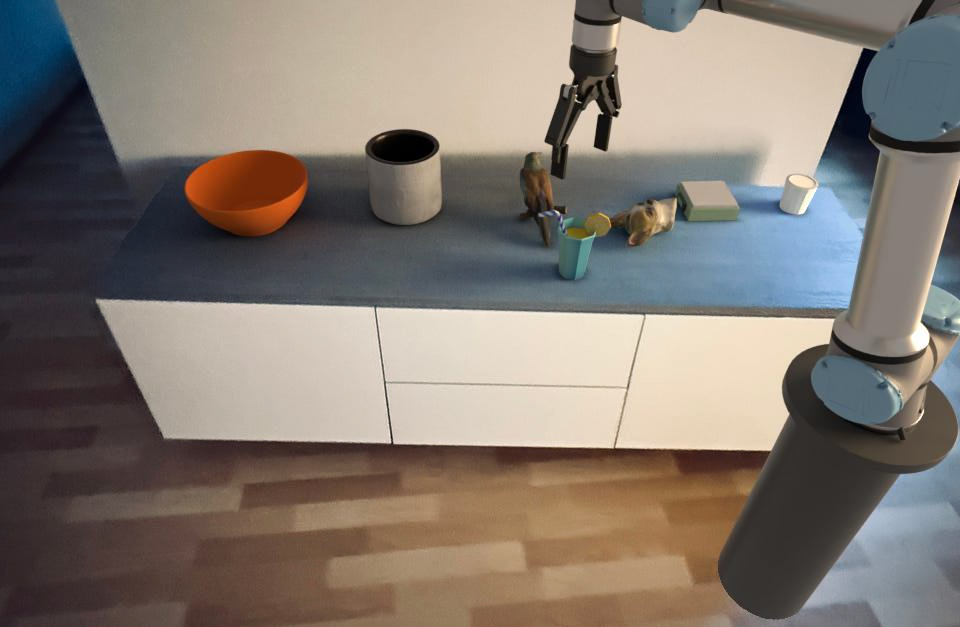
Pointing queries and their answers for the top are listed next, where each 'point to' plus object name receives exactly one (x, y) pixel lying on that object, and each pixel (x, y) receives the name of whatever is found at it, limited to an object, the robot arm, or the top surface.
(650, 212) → the ceramic sculpture
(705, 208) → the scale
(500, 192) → the top surface
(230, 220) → the bowl
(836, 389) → the robot arm
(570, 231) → the cup
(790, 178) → the shot glass
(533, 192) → the bird figurine
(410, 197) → the planter
